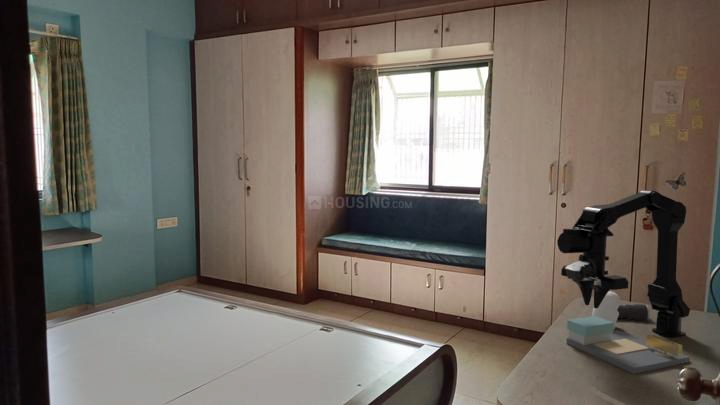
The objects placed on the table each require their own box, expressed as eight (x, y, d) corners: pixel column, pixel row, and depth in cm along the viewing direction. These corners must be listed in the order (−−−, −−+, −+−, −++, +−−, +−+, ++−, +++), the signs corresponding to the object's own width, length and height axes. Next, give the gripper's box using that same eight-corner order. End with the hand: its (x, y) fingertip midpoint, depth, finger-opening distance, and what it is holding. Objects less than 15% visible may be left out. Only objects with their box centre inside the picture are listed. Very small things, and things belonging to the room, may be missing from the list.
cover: (594, 325, 149) (595, 315, 148) (613, 332, 142) (613, 322, 142) (567, 329, 145) (567, 319, 144) (585, 336, 139) (585, 326, 138)
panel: (618, 334, 152) (618, 321, 152) (689, 362, 132) (690, 347, 131) (566, 343, 145) (567, 329, 144) (633, 373, 124) (634, 358, 124)
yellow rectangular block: (650, 347, 138) (651, 333, 138) (681, 359, 130) (682, 345, 129) (645, 348, 137) (646, 334, 137) (677, 360, 129) (678, 346, 129)
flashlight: (598, 306, 164) (594, 298, 169) (596, 321, 166) (593, 313, 171) (650, 309, 161) (645, 301, 166) (648, 324, 162) (643, 316, 167)
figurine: (617, 334, 153) (619, 295, 151) (589, 329, 157) (591, 291, 156) (619, 327, 159) (621, 290, 157) (592, 323, 163) (594, 286, 162)
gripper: (547, 248, 147) (545, 300, 148) (599, 260, 130) (596, 319, 131) (577, 246, 151) (574, 297, 153) (631, 257, 134) (627, 315, 135)
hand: (591, 306), depth 143 cm, fingers open, 3 cm apart
